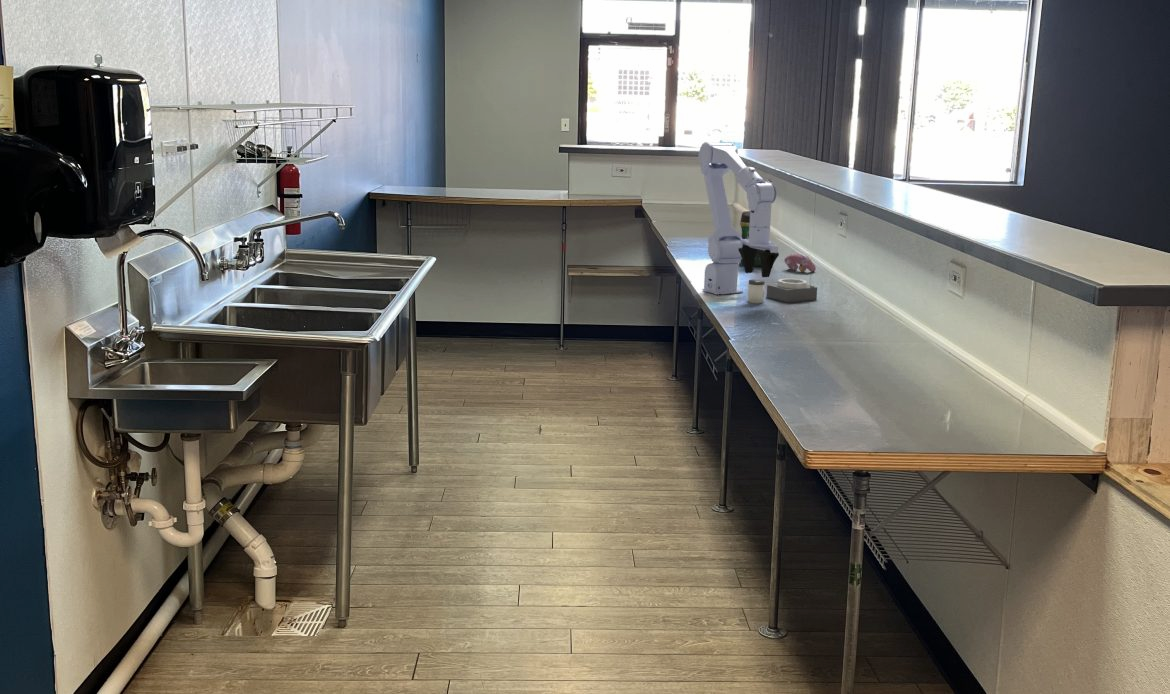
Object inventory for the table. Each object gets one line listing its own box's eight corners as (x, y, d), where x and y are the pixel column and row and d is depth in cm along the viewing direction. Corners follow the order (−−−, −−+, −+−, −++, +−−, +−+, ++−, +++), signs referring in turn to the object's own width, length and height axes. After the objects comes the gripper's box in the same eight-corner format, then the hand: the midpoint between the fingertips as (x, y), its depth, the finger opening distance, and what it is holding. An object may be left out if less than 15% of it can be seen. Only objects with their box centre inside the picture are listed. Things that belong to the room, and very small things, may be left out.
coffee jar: (765, 263, 358) (768, 210, 354) (766, 267, 350) (770, 212, 346) (737, 262, 359) (740, 209, 355) (738, 266, 351) (741, 212, 347)
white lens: (754, 303, 289) (755, 282, 288) (744, 301, 293) (745, 280, 292) (766, 302, 291) (767, 281, 290) (756, 299, 295) (758, 279, 294)
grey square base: (786, 302, 292) (787, 285, 291) (766, 296, 300) (767, 279, 298) (816, 299, 297) (817, 282, 296) (796, 293, 305) (797, 277, 304)
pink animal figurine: (785, 273, 348) (781, 256, 345) (792, 266, 351) (788, 249, 347) (810, 277, 341) (806, 260, 338) (817, 270, 344) (813, 252, 340)
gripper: (787, 228, 283) (784, 277, 286) (755, 222, 295) (752, 269, 298) (767, 230, 280) (764, 279, 283) (735, 224, 292) (732, 271, 295)
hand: (757, 274), depth 290 cm, fingers open, 7 cm apart
